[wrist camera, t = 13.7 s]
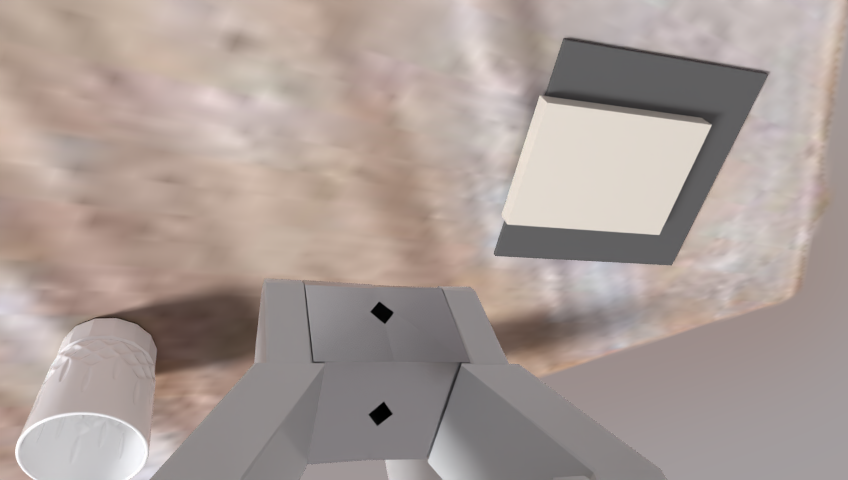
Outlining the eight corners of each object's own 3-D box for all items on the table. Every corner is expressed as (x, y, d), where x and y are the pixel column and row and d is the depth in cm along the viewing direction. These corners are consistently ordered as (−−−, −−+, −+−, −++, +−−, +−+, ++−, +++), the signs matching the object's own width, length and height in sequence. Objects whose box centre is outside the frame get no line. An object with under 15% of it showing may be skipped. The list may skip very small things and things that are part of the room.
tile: (547, 102, 44) (711, 125, 48) (539, 94, 45) (700, 116, 50) (507, 224, 49) (659, 235, 53) (500, 214, 50) (649, 225, 55)
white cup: (155, 389, 53) (138, 494, 45) (49, 379, 50) (11, 489, 42) (172, 318, 50) (157, 418, 42) (59, 303, 47) (19, 407, 39)
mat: (563, 38, 44) (565, 40, 44) (764, 72, 49) (767, 74, 49) (493, 253, 53) (495, 255, 53) (669, 262, 58) (671, 265, 58)
